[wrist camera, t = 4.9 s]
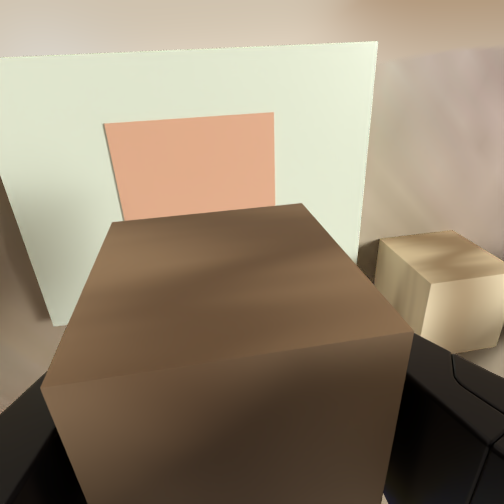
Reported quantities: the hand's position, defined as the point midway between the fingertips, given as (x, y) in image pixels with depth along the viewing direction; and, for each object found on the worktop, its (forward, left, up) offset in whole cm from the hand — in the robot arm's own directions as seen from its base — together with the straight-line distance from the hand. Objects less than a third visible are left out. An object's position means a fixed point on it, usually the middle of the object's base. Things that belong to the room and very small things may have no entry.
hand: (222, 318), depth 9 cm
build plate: (0, 0, -10) cm, 10 cm away
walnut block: (0, 0, -1) cm, 1 cm away
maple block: (-12, +6, -10) cm, 17 cm away
